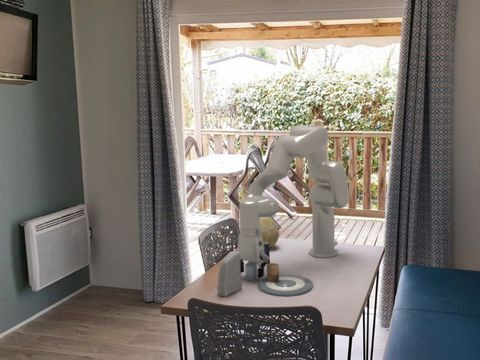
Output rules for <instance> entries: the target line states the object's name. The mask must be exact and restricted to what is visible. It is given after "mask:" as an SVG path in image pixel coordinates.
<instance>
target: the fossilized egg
mask: <svg viewBox="0 0 480 360" xmlns="http://www.w3.org/2000/svg"><path fill="white" fill-rule="evenodd" d="M259 223H260V231H262V234H260V235H261V236H262V239H263V242H267V243H269V249H271V248H273V247H274V246H275V245H276V244H277V242H278V240H279V237H280V230H279V227H278V225H277V223H276V222H275V220H274V219H272V218H271V217H260V218H259Z"/></svg>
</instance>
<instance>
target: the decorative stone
mask: <svg viewBox="0 0 480 360" xmlns="http://www.w3.org/2000/svg"><path fill="white" fill-rule="evenodd" d="M240 266H241V265H240V252H238V251H233V250H232V251H230V252H228V253H227V254H226V255H225V256H224V258H223V259H222V261H221V263H220V265H219V269H218V270H219V271H218V277H217V282H218V283H217V291H216V292H217V294H218V295H219V296H221V297H228V296H229V295H232V294H233V293H235V292H237V291H239V290H240V289H242V273H241V271H240ZM231 293H232V294H231Z"/></svg>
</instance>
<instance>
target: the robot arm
mask: <svg viewBox="0 0 480 360" xmlns="http://www.w3.org/2000/svg"><path fill="white" fill-rule="evenodd" d="M328 140H329V131H328V130H327V129H326V128H325V127H323V126H320V125H306V124H305V125H304V124H303V125H302V124H300V125H294V126H292V127H291V128H290V130H289V135H282V136H279V137H278V138H277V140H276V141H275V145H274V147H273V150H272V152H271V155H270V158H269V161H268V163H267V166H266V168H265V170H263V171H262V172H261V173H260V174H259V175H258V176H257V177H256V178H255V179H253V181H252V183H251V184H250V186H249V188H248V190H247V194H246V195H245V196H246V197H245V199H242V200H240V202H239V206H238V207H239V235H238V240H237V248H235V249H233V250H232V251H238V252H240V265H241V266H240V271H241V274H242V273H244V272H245V262H244V261H246V262H249V261H250V262H256V264H257V279H261V278H263V277H264V275H265V267H266V266H267V263H268V261H269V259H270V260H271V257H270V258H269V257H268V256H267V255H266V254H265V253H264V244H263V239H262V236H261V235H260V234H262V231H260V223H259V218H261V217H269V218H271V217H273V216H275V215H276V214H277V213H278V211H279V208H280V205H279V202H278V201H277V200H276V199H275V198H272V197H270V196H264V195H263V193H264V191H265V190H266V189H267V188H268V187H269V186H270V185H272V184H274V183H277V182H279V181H281V180H284V179H285V178H286V177H287V175H288V173H289V170H290V167H291V165H292V163H293V159H294V158H297V159H301V158H302V159H303V158H306V161H307V167H308V172H309V177H310V178H311V180H312V181H313V182H316V184H314V185H313V186H312V187H311V188H310V191H309V199H310V203H311V213H312V215H311V217H312V222H311V223H312V227H311V228H312V231H311V232H312V248H311V249H309V250H308V254H309V255H310V257H314V258H320V259H328V258H334V257H336V256H338V255H339V251H338V250H337V249H336V248H335V246H337V245H339V244H338V241H337V240H335V212H334V210H333V208H336V209H343V208H345V207H346V206H347V205H348V203H349V201H350V192H349V191H350V190H349V183H348V177H347V176H348V175H347V171H346V168H345V166H344V165H343V164H342V163H341V162H339V161H336V160H335V161H334V160H329V157H328V154H327V150H326V144H327V143H328ZM317 182H318V183H317ZM263 259H264V262H263ZM250 262H249V263H250ZM260 263H261V264H260Z"/></svg>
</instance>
